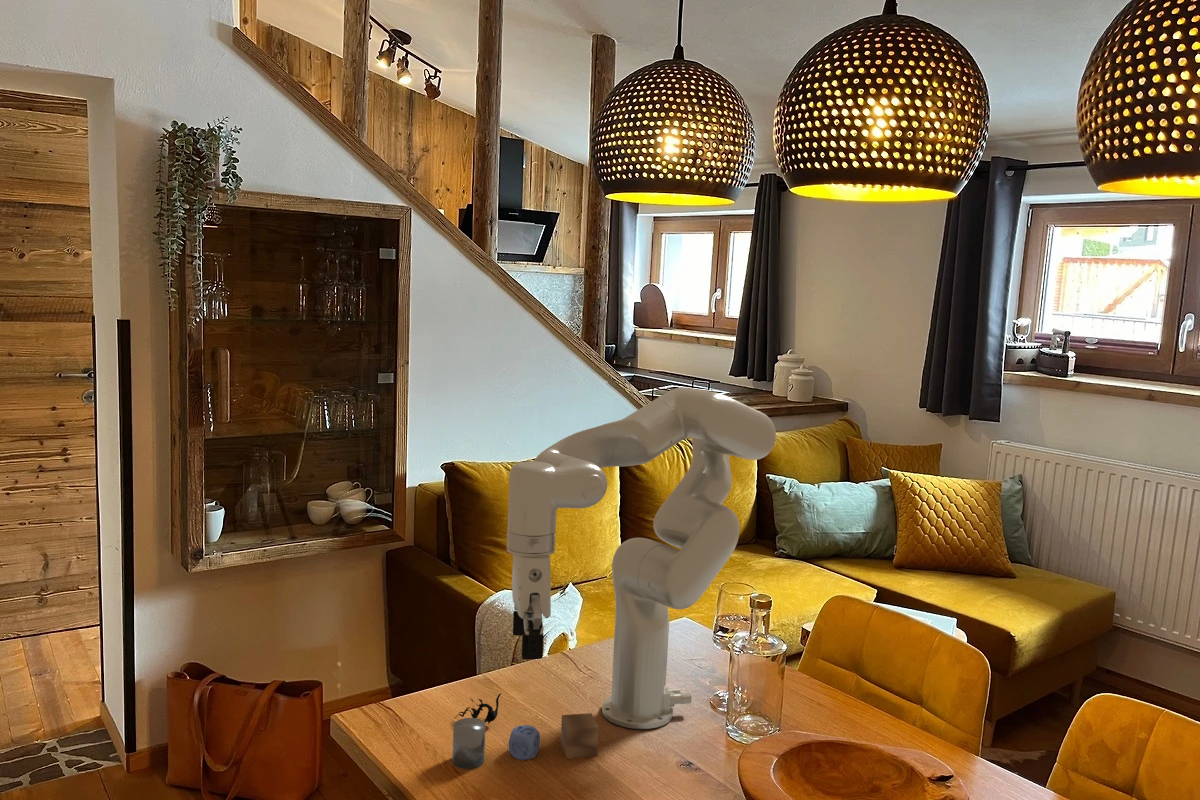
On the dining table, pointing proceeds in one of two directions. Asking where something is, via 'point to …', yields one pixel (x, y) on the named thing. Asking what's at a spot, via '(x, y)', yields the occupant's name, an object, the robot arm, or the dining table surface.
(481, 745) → the dark metal cylinder
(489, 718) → the creature
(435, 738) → the dining table surface
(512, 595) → the robot arm
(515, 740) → the decorative dice
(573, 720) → the walnut block
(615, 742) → the dining table surface
